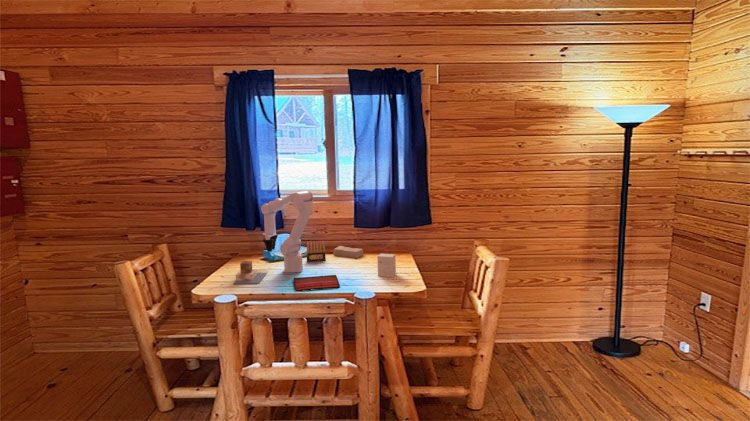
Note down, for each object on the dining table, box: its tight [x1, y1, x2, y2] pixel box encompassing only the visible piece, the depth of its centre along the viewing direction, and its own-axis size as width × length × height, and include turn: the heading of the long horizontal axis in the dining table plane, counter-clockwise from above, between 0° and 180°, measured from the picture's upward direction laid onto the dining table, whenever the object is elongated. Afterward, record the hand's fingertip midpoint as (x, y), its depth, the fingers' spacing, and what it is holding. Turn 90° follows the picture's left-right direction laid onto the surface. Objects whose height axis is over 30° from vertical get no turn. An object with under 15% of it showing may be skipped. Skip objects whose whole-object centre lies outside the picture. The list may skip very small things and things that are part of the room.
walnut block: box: [239, 260, 253, 274], centre depth 207 cm, size 4×4×5 cm
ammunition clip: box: [306, 240, 327, 263], centre depth 238 cm, size 11×2×12 cm, turn 105°
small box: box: [377, 253, 397, 278], centre depth 210 cm, size 8×6×10 cm
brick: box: [333, 245, 364, 259], centre depth 250 cm, size 17×8×5 cm, turn 64°
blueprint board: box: [232, 269, 268, 285], centre depth 207 cm, size 12×16×4 cm
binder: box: [293, 274, 341, 292], centre depth 198 cm, size 16×2×21 cm
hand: (271, 249), depth 227 cm, fingers open, 7 cm apart
